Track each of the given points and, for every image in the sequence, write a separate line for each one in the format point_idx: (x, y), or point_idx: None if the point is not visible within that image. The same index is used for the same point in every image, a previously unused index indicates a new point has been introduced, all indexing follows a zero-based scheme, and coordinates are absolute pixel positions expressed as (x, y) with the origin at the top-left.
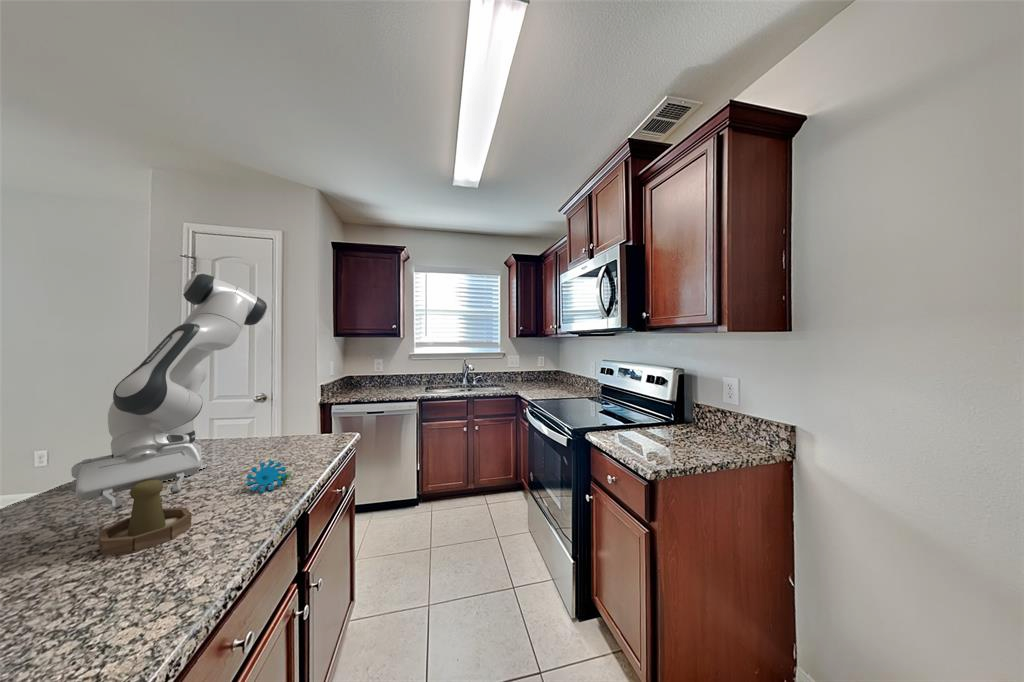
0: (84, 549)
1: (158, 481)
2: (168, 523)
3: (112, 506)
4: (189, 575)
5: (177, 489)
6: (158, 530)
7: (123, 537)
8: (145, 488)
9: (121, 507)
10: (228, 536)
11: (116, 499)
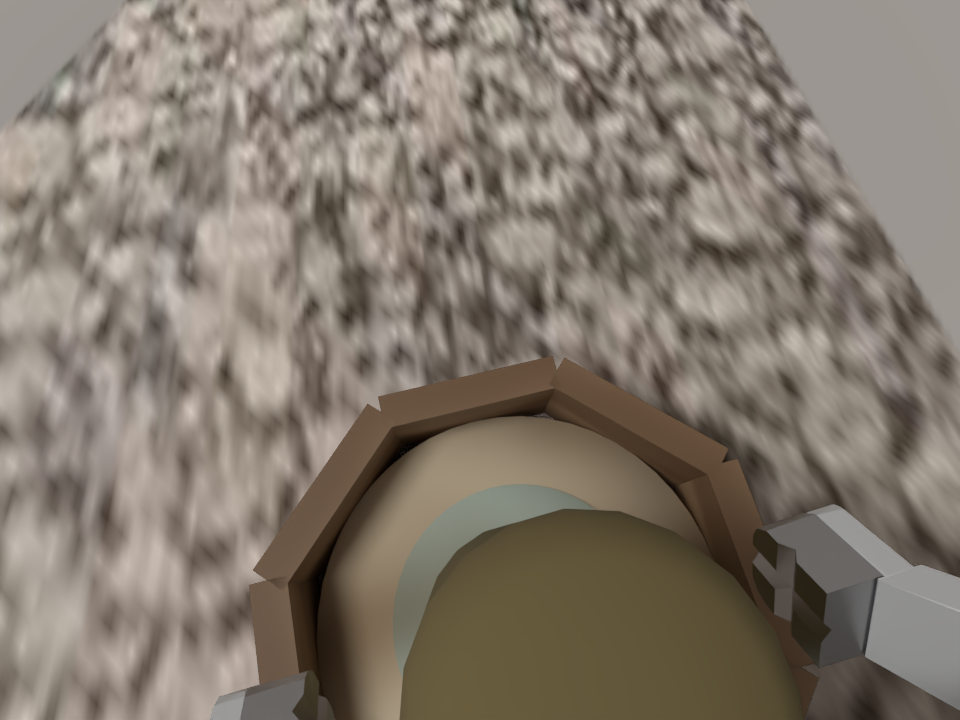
0: None
1: (448, 710)
2: (407, 653)
3: (836, 507)
4: (317, 15)
5: (254, 694)
6: (440, 387)
7: (619, 417)
8: (589, 518)
9: (755, 559)
10: (137, 257)
11: (866, 575)
